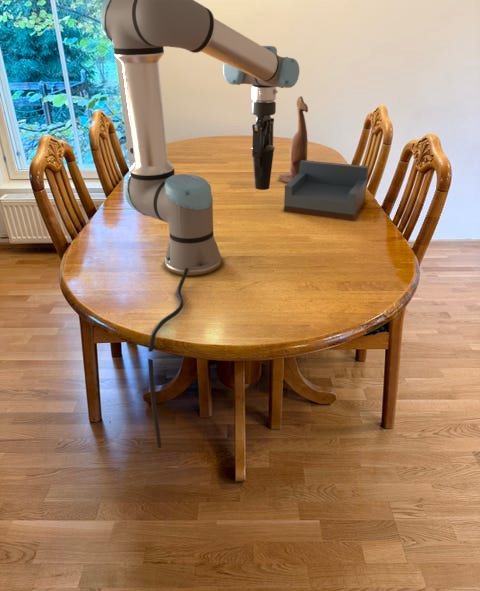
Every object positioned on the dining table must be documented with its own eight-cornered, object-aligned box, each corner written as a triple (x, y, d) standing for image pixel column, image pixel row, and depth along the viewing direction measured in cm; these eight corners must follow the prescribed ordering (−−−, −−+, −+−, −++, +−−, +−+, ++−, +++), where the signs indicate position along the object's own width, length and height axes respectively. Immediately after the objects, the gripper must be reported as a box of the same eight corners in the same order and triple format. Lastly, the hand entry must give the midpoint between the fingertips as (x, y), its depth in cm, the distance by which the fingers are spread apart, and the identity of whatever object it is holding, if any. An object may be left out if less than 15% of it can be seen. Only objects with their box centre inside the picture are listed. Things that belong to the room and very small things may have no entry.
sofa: (353, 220, 160) (357, 181, 153) (283, 211, 168) (285, 173, 162) (364, 202, 175) (368, 166, 168) (300, 194, 183) (302, 159, 177)
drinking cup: (271, 191, 164) (273, 129, 154) (249, 190, 165) (249, 129, 155) (274, 185, 170) (277, 125, 160) (253, 184, 171) (254, 124, 162)
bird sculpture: (297, 187, 191) (302, 100, 175) (277, 180, 199) (279, 96, 182) (317, 181, 197) (323, 96, 181) (296, 175, 205) (300, 93, 188)
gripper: (264, 106, 145) (263, 182, 156) (284, 97, 160) (282, 168, 171) (241, 104, 147) (241, 180, 159) (263, 96, 162) (262, 166, 174)
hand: (262, 173), depth 165 cm, fingers closed on drinking cup, 6 cm apart
